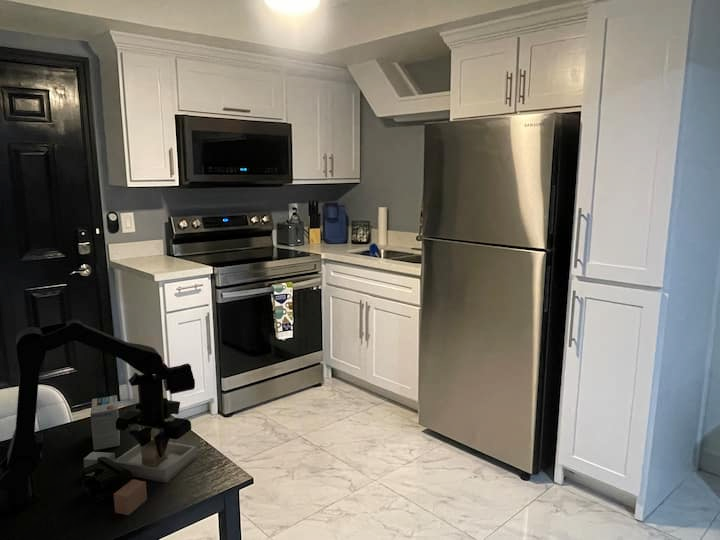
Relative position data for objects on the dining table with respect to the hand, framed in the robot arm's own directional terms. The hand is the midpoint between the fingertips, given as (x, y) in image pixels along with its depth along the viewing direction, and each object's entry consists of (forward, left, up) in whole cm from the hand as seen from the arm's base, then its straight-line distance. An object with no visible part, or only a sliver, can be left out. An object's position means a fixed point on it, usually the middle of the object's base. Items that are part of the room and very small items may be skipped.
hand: (155, 455), depth 134 cm
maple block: (0, 0, -1) cm, 1 cm away
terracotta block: (-16, -6, -3) cm, 17 cm away
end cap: (-13, +3, -3) cm, 14 cm away
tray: (0, 0, -2) cm, 2 cm away
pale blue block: (-7, +11, -3) cm, 13 cm away
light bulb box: (+7, +22, -3) cm, 23 cm away
